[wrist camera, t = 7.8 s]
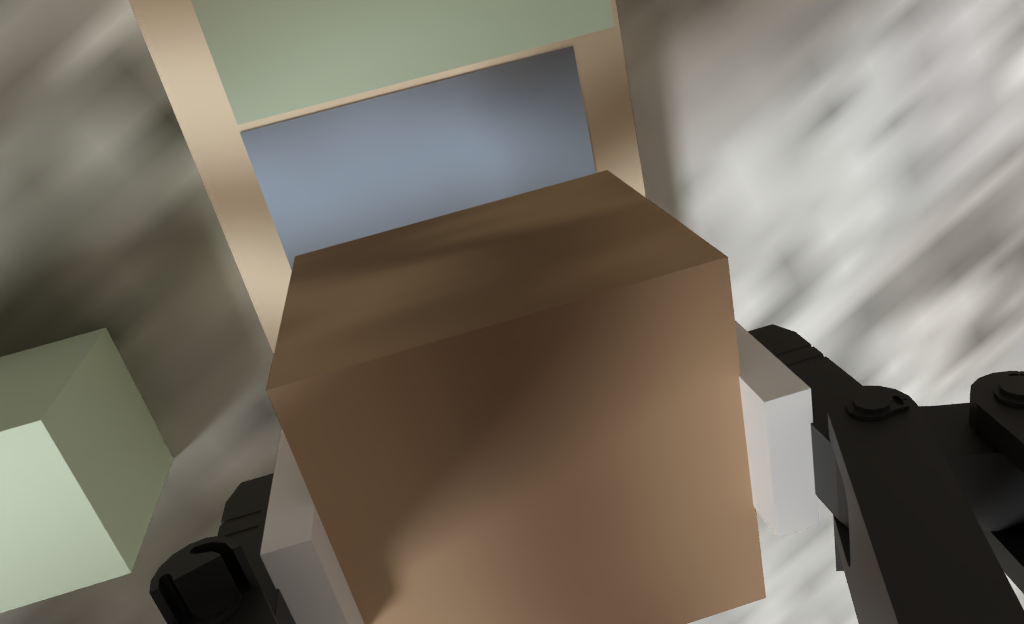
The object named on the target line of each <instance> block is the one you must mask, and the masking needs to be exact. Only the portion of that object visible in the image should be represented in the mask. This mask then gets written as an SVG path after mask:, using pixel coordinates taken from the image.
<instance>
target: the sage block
mask: <svg viewBox="0 0 1024 624" xmlns="http://www.w3.org/2000/svg"><path fill="white" fill-rule="evenodd" d="M172 462H173V457H172V455H171V453H170V451H169V449H168V447H167V445H166V443H165V441H164V439H163V437H162V435H161V433H160V432H159V430H158V428H157V426H156V424H155V422H154V420H153V418H152V416H151V414H150V412H149V410H148V408H147V406H146V404H145V402H144V400H143V398H142V397H141V395H140V393H139V391H138V389H137V387H136V385H135V383H134V381H133V379H132V377H131V375H130V373H129V371H128V369H127V367H126V365H125V363H124V361H123V360H122V358H121V356H120V354H119V352H118V350H117V348H116V346H115V344H114V342H113V340H112V338H111V336H110V334H109V332H108V330H107V328H103V329H99V330H95V331H92V332H88V333H85V334H81V335H78V336H74V337H70V338H67V339H63V340H60V341H56V342H53V343H49V344H45V345H42V346H38V347H35V348H31V349H28V350H24V351H21V352H17V353H13V354H10V355H6V356H3V357H0V613H2V612H6V611H9V610H12V609H15V608H19V607H22V606H25V605H29V604H32V603H35V602H38V601H42V600H45V599H48V598H51V597H55V596H58V595H61V594H64V593H68V592H71V591H74V590H78V589H81V588H84V587H87V586H91V585H94V584H97V583H100V582H104V581H107V580H110V579H113V578H117V577H120V576H123V575H127V574H130V573H131V572H132V570H133V567H134V564H135V562H136V559H137V556H138V554H139V551H140V548H141V545H142V543H143V540H144V537H145V535H146V532H147V529H148V527H149V524H150V521H151V519H152V516H153V513H154V511H155V508H156V505H157V502H158V500H159V497H160V494H161V492H162V489H163V486H164V484H165V481H166V478H167V476H168V473H169V470H170V467H171V465H172Z"/></svg>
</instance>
